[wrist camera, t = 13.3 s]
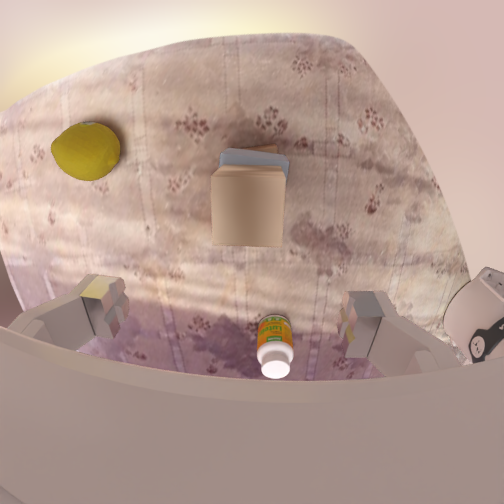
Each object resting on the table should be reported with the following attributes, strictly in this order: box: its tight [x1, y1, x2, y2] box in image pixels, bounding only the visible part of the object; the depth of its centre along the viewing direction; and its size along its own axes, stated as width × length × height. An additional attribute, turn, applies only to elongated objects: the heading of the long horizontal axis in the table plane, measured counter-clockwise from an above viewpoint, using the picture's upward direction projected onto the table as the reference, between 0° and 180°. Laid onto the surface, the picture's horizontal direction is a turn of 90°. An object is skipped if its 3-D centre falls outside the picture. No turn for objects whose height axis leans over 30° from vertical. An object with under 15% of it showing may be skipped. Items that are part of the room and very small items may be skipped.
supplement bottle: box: [257, 315, 293, 379], centre depth 42 cm, size 5×5×10 cm
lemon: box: [51, 122, 120, 181], centre depth 31 cm, size 11×8×8 cm
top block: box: [219, 148, 290, 188], centre depth 28 cm, size 6×6×6 cm
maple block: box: [211, 164, 286, 247], centre depth 22 cm, size 5×5×6 cm
